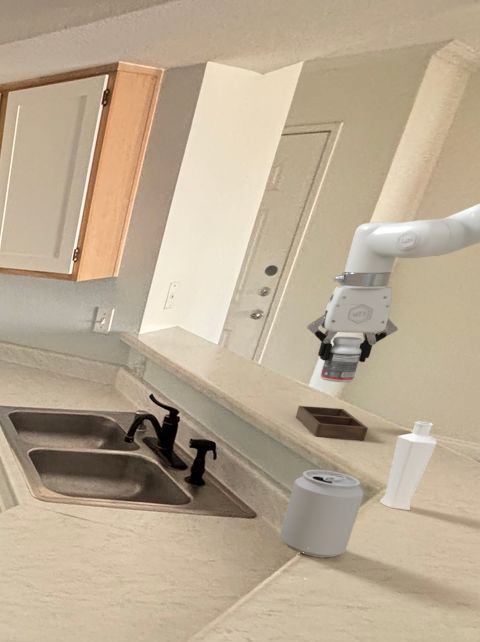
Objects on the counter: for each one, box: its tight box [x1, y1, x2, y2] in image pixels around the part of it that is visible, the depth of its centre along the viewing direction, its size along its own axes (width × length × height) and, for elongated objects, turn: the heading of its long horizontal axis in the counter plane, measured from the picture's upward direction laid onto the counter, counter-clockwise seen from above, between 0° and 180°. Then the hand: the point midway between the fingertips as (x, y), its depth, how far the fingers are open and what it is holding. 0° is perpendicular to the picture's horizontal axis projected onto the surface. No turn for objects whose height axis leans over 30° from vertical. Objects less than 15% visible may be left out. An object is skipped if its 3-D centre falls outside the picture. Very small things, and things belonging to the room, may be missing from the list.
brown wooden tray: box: [295, 405, 369, 441], centre depth 139 cm, size 8×16×3 cm, turn 151°
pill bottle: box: [320, 336, 363, 383], centre depth 137 cm, size 6×6×10 cm
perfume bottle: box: [379, 420, 438, 511], centre depth 99 cm, size 5×4×15 cm
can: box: [279, 469, 365, 559], centre depth 88 cm, size 8×8×12 cm
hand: (341, 359), depth 137 cm, fingers closed on pill bottle, 5 cm apart
